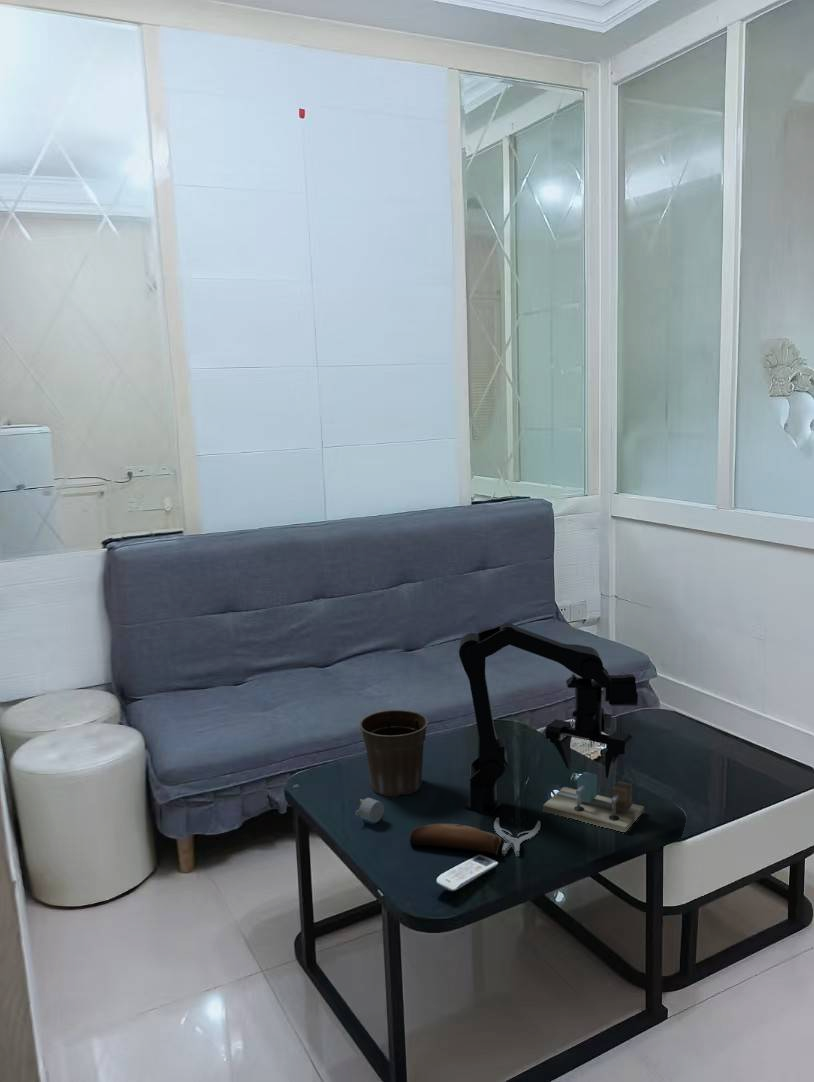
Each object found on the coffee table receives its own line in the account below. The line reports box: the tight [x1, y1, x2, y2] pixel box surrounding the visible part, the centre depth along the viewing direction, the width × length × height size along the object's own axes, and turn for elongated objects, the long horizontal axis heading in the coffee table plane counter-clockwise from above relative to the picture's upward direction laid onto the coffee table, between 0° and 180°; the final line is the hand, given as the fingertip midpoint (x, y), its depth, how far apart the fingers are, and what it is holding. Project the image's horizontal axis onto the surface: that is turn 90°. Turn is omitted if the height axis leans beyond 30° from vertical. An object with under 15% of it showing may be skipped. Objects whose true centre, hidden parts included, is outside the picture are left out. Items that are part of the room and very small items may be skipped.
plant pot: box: [359, 709, 429, 798], centre depth 204 cm, size 16×16×16 cm
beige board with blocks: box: [542, 780, 645, 833], centre depth 189 cm, size 11×19×7 cm, turn 55°
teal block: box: [575, 771, 598, 806], centre depth 190 cm, size 7×3×5 cm, turn 145°
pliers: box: [493, 817, 541, 857], centre depth 180 cm, size 10×2×15 cm
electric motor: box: [355, 797, 385, 826], centre depth 189 cm, size 7×5×5 cm
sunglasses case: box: [409, 823, 503, 856], centre depth 177 cm, size 18×7×7 cm, turn 74°
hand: (588, 772), depth 191 cm, fingers open, 9 cm apart
